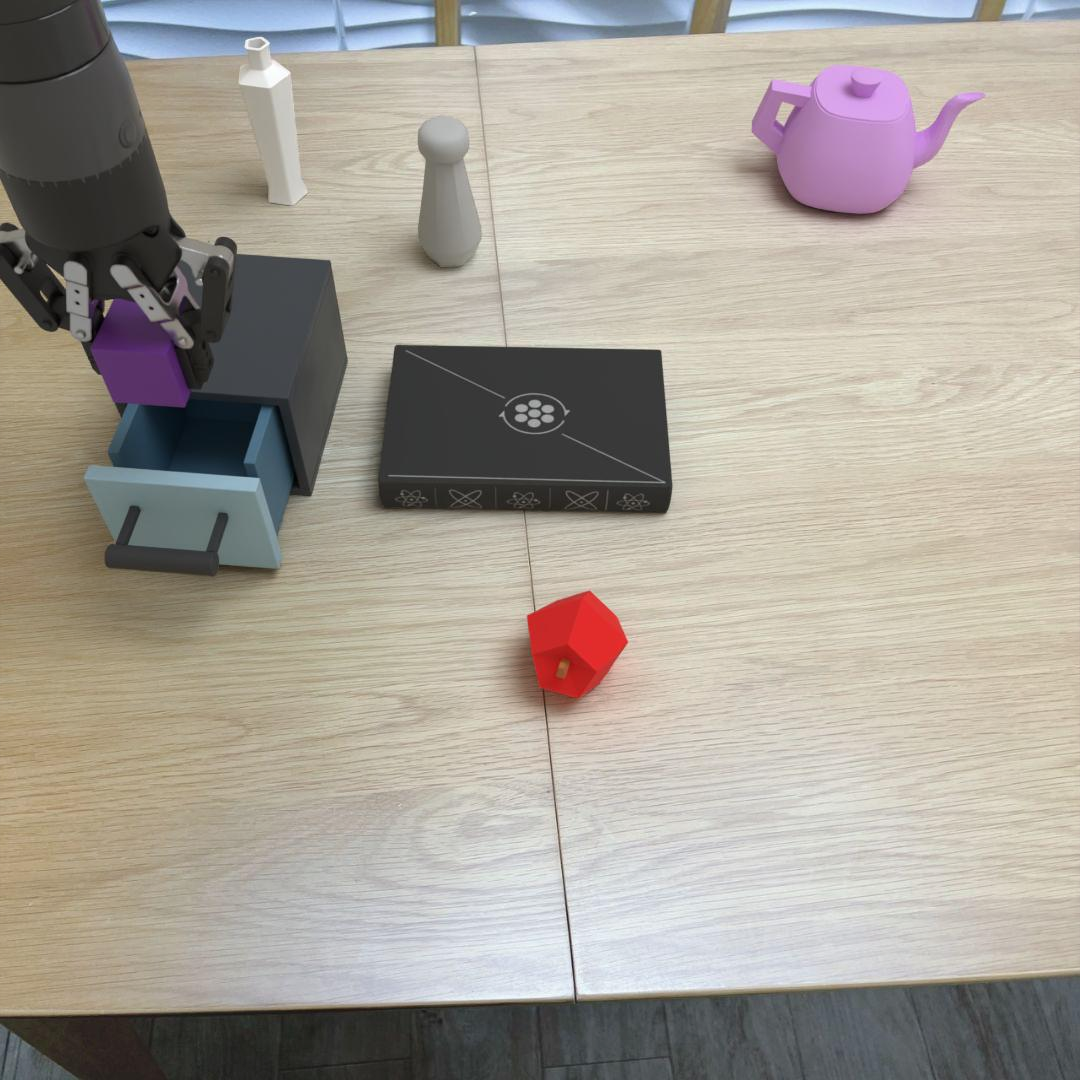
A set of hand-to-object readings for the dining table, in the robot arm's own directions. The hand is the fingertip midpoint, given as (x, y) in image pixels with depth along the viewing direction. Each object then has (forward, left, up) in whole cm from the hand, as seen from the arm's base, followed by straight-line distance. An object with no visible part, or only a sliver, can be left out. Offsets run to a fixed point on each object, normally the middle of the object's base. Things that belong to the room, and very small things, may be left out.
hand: (157, 376), depth 68 cm
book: (+22, +11, -16) cm, 30 cm away
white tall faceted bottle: (-4, +40, -16) cm, 44 cm away
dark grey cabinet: (0, +11, -16) cm, 20 cm away
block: (0, 0, 0) cm, 0 cm away
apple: (+27, -9, -16) cm, 33 cm away
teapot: (+50, +48, -16) cm, 72 cm away
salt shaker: (+13, +33, -16) cm, 39 cm away
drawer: (0, +1, -15) cm, 15 cm away
